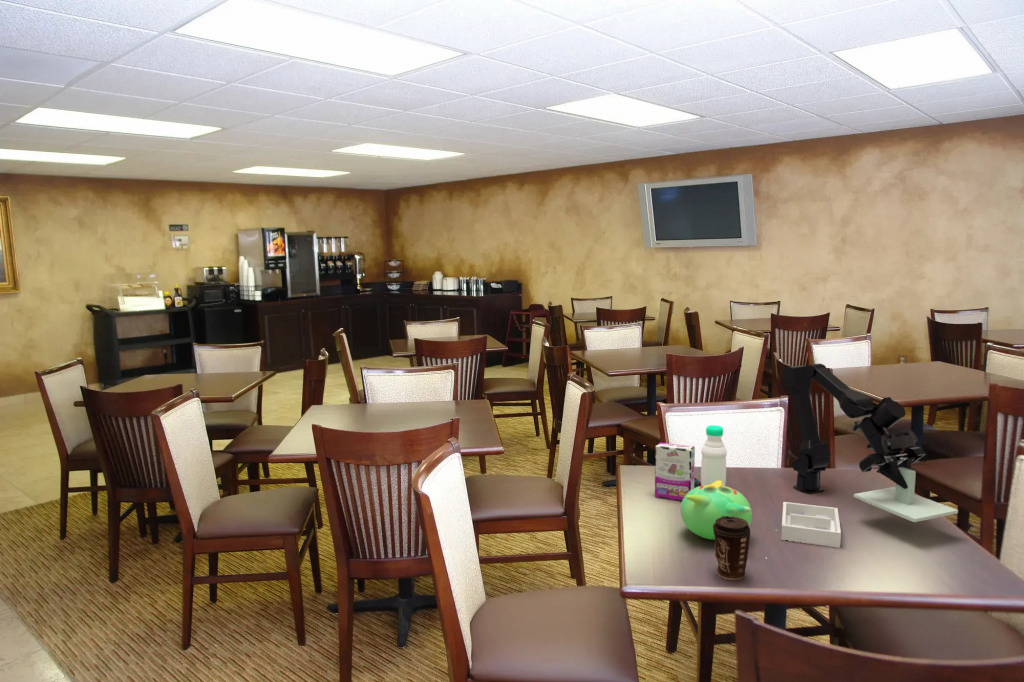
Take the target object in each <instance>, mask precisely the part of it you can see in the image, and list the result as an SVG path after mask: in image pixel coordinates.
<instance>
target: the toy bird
mask: <svg viewBox="0 0 1024 682" xmlns="http://www.w3.org/2000/svg"><path fill="white" fill-rule="evenodd" d="M680 515H681V520H682V521H683V523H684V525H685V526H686V527H687V529H688V530H690V531H691V532H692V533H693V534H695V535H697V536H699V538H700V537H701V538H703V539H706V540H710V541H711V540H712V541H715V536H714V531H713V525H714V523H715V522H716V520H717V519H718V518H721V517H722V516H729V517H732V516H733V517H739V518H742V519H744V520H745V521H747V523H748V526H749V527H750V524H751V522H752V519H753V518H752V515H753V514H752V508H751V505H750V503H749V501H748V499H747V498H746V497H745V496H744V494H742V493H741V492H740V491H738V490H736V489H734V488H732V487H729V486H728V485H727V486H726V485H725V486H723V485H722V481H721V480H718V481H715V482H713V483H712V484H709V485H702V486H699V487H696V488H694V489H692V490H691V491H689V492H688V493H687V494H686V496H685V497H684V499H683V501H681V505H680Z"/></svg>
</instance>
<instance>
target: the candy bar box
mask: <svg viewBox="0 0 1024 682" xmlns="http://www.w3.org/2000/svg"><path fill="white" fill-rule="evenodd" d="M695 447H696V446H695V445H686V444H675V443H668V442H659V443H658V444H657V445H655V447H654V449H655V450H654V451H655V452H654V453H655V458H654V460H655V462H654V463H655V464H654V466H655V468H654V497H655V498H658V499H666V500H671V501H678V502H682V501H683V499H684V497H685V496H686V494H687V493H688V492H689V491H691V490H692V489H694V477H695V463H696V462H695V459H696V458H695V457H696V455H695V454H696V453H695V452H696V448H695Z"/></svg>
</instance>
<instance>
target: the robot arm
mask: <svg viewBox="0 0 1024 682" xmlns="http://www.w3.org/2000/svg"><path fill="white" fill-rule="evenodd" d="M781 379H782V382H783V384H784V387H785V388H786V390H787V392H789V393H790V395H791V396H792V400H793V404H794V410H795V413H796V414H795V415H796V418H797V423H798V429H799V433H800V436H801V443H800V446H799V448H798V455H799V457H798V458H797V459H795V460H794V461H793V462H792V469H793V471H795V472H797V475H796V485H793V488H794V489H796V490H798V491H801V492H804V493H805V494H808V495H810V494H814V493H818V492H824V488H821V487H820V486H821V473H822V472H825V471H826V469H827V467H828V465H829V463H830V462H831V457H832V456H831V455H832V454H831V453H830V449H829V444H828V442H823V440H821V439H820V436H819V431H818V428H817V423H816V419H815V414H814V409H813V405H812V400H811V395H810V391H811V388H812V384H813V380H814V381H815V382H816V383H817V384H818V385H819V386H821V387H822V388H823V389H824V390H826V392H827V393H829V394H830V395H831V396H832V397H833V398H835V399H836V400H837V402H838V404H839V408H840V409H841V410H842V412H843V413H844V414H845V415H846V417H848V418H849V419H857V418H862V419H861V420H857V421H854V425H853V427H852V431H853V432H858V431H861V433H862V435H863V436H864V438H865V441H867V443H868V444H867V445H866V447H867V449H868V450H871V449H872V451H873V452H874V453H870V454H868V455H866V456H865V457H864V458H863V459H861V460H860V461H859V462H858V467H859V469H860V471H861V472H862V473H863V474H864V473H869V472H871V471H872V467H874V466H877V467H878V469H877V470H876V474H881V475H882V476H884V477H885V478H887V479H888V480H890V481H892V482H893V483H894V484H895V485H896V484H898V485H899V486H901V487H902V488H904V489H907V488H908V486H907V484H906V482H905V480H904V478H903V476H902V474H901V473H900V471H899V469H898V468H899V467H905V468H908V469H911V470H912V465H913V464H915V463H916V462H917V461H919V460H920V459H921V458H923V457H924V456H926V455H927V454H926V452H925V451H924V449H923V448H922V447H920V446H916V443H918V440H919V439H918V437H917V435H916V434H915V433H914V431H913V430H910V431H906V432H903V434H902V435H899V436H896V434H894V433H889V432H888V431H887V429H889V428H892V427H893V426H895V425H896V424H897V423H898V422H899V421H900V420H902V419H903V418H904V417H905V416H906V409H905V407H904V405H901V404H900V403H899V402H897V401H896V400H893V399H892V398H891V397H890V396H887V397H885V396H884V397H883V398H882V399H881V400H880V401H879V402H878V403H877V402H875V401H874V400H873V399H872V398H871V397H869V396H867V395H865V394H864V393H862V392H859V391H856V390H854V389H852V388H850V387H849V386H848V385H847V384H846V383H844V382H843V381H842V380H841V379H839V377H837V376H836V375H835V374H834V373H832V371H830V370H829V369H828V368H827V366H826V365H825V364H823V363H812V364H808V365H795V366H793V365H792V366H787V367H784V369H783V370H782V372H781ZM906 448H907V449H906Z"/></svg>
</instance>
